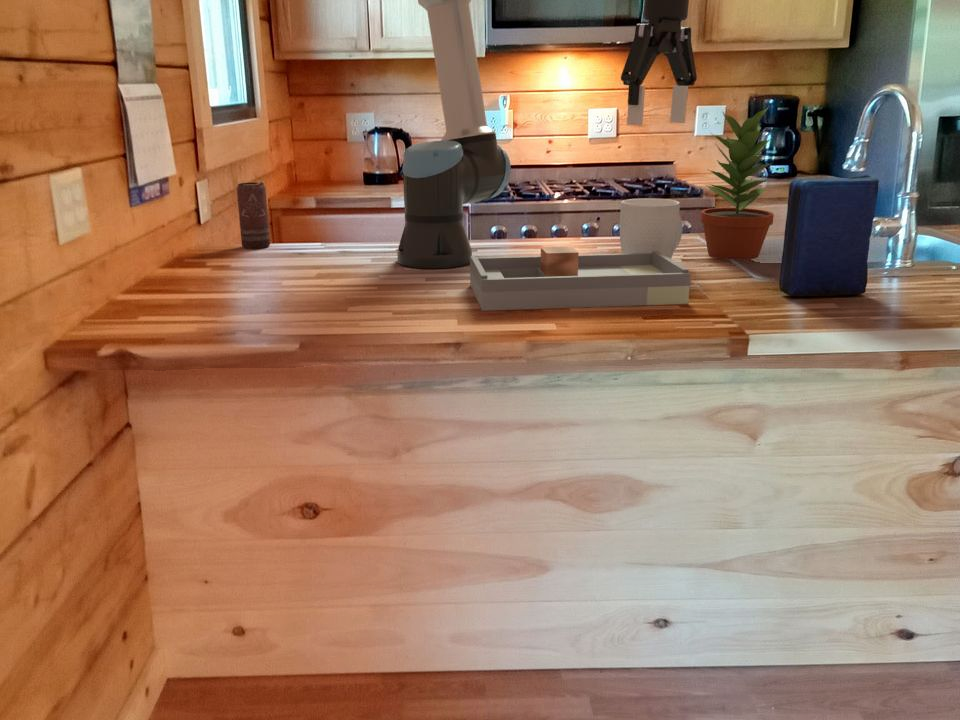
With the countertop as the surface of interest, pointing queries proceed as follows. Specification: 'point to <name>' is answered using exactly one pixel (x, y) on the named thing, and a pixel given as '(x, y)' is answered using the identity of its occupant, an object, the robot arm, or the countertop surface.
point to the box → (570, 281)
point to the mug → (650, 226)
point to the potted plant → (738, 197)
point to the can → (253, 215)
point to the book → (828, 236)
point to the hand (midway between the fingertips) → (656, 124)
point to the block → (559, 261)
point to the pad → (660, 288)
